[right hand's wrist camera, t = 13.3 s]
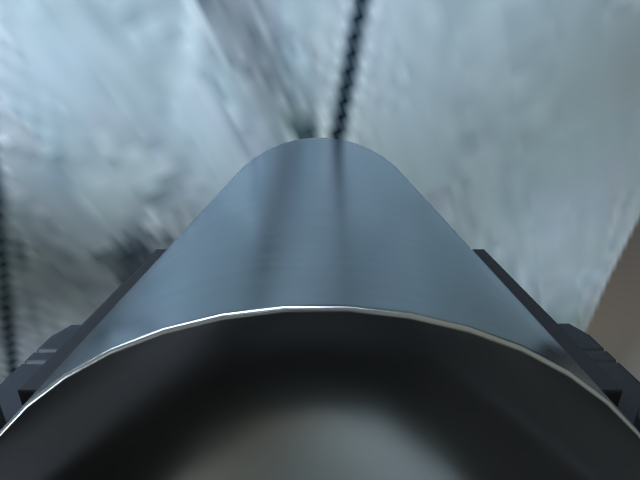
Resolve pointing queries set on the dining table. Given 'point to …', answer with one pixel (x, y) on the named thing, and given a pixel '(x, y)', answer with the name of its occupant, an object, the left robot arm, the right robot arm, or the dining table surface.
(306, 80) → the dining table surface
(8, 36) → the dining table surface
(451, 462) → the tin
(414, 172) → the dining table surface
